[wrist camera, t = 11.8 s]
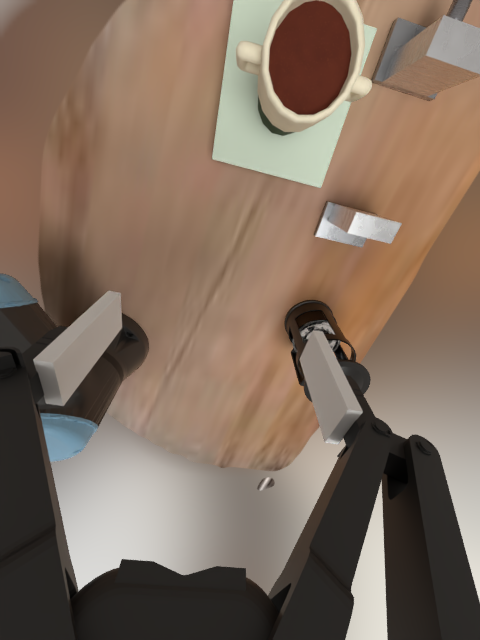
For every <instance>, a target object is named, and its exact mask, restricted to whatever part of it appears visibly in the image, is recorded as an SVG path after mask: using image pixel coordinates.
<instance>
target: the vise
mask: <svg viewBox="0 0 480 640" xmlns="http://www.w3.org/2000/svg"><path fill="white" fill-rule="evenodd" d="M471 2H472V0H453V2H452V4H451V6H450V9H449V11H448V13H447V15H446V16H445V15H443V16H442V17H440V18H439V19H438V20H436V21H435V22H434V23H432V24H431V25H430V26H428V27H427V28H426V27H423V26H420V25H417V24H415V23H412V22H409V21H406V20H404V19H401V18H397V19H396V20H395V21H394V22H393V24H392V27H391V30H390V32H389V35H388V38H387V40H386V43H385V46H384V48H383V51H382V54H381V56H380V59H379V62H378V65H377V67H376V70H375V73H374V75H373V78H372V83H375V84H379V85H382V86H385V87H388V88H391V89H394V90H397V91H400V92H403V93H406V94H409V95H412V96H415V97H418V98H421V99H425V100H428V101H430V100H433V99H435V97H436V95H437V93H438V92H441V91H443V90H446V89H448V88H451V87H453V86H456V85H459V84H461V83H464V82H466V81H469V80H471V79H474V78H477V77H479V76H480V28H477V27H475V26H472V25H469V24H467V23H464V22H462V21H463V19H464V17H465V15H466V13H467V11H468V9H469V7H470V4H471ZM401 224H402V223H399V222H396V221H393V220H390V219H387V218H384V217H381V216H378V215H377V214H373V213H369V212H366V211H362V210H358V209H354V208H350V207H346V206H342V205H339V204H335V203H331V202H327V201H326V204H325V207H324V209H323V212H322V215H321V217H320V220H319V223H318V225H317V228H316V231H315V234H314V235H315V236H317V237H321V238H325V239H329V240H333V241H337V242H342V243H346V244H350V245H354V246H358V247H363V245H364V243H365V241H366V239H367V238H370V239H374V240H378V241H382V242H386V243H390V244H391V242H392V241H393V239H394V237H395V235H396V233H397V231H398V230H399V228H400V226H401Z"/></svg>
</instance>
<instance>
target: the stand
mask: <svg viewBox="0 0 480 640" xmlns="http://www.w3.org/2000/svg"><path fill="white" fill-rule="evenodd" d="M282 2H283V0H234V1H233V8H232V16H231V23H230V30H229V38H228V45H227V52H226V60H225V67H224V74H223V82H222V89H221V96H220V104H219V111H218V118H217V126H216V133H215V140H214V148H213V155H212V159H213V160H217V161H221V162H225V163H228V164H232V165H236V166H240V167H243V168H247V169H251V170H255V171H258V172H262V173H266V174H270V175H274V176H277V177H281V178H285V179H289V180H292V181H296V182H300V183H304V184H307V185H311V186H315V187H319V188H321V186H322V183H323V180H324V178H325V175H326V172H327V169H328V166H329V163H330V161H331V158H332V155H333V152H334V149H335V146H336V144H337V141H338V138H339V135H340V132H341V129H342V127H343V124H344V121H345V118H346V115H347V112H348V110H349V107H350V104H351V102H348V101H343V102H342V104H341V105H340V106H339V107H338V108H337V109H336V110H335V111H334V112H333V113H332V114H331V115H330V116H328V117H327V118H325V119H324V120H322V121H320V122H319V123H317V124H315V125H313V126H311V127H309V128H307V129H305V130H303V131H301V132H295V133H291V134H288V135H285V136H281V135H278V134H274V133H271V132H270V131H269V129H268V128H267V127H266V126H265V125H264V124H263V123H262V120H261V117H260V114H259V111H258V92H257V89H258V75H255V74H251V73H248V72H245V71H242V70H241V69H240V68H239V67H238V66H237V61H236V47H237V45H238V43H239V42H240V41H249V42H252V43H256V44H259V45H263V42H264V39H265V36H266V33H267V30H268V27H269V24H270V21H271V18H272V16H273V15H274V13H275V12H276V10H277V9H278V7H279V6H280V5H281V3H282ZM376 30H377V28H374V27H371V26H368V25H365V24H364V35H365V49H364V54H363V60H362V65H361V71H360V74H359V75H361V73H362V70H363V67H364V64H365V61H366V58H367V56H368V53H369V50H370V47H371V44H372V41H373V39H374V36H375V33H376Z"/></svg>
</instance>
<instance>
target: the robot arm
mask: <svg viewBox="0 0 480 640" xmlns="http://www.w3.org/2000/svg"><path fill="white" fill-rule="evenodd" d="M37 302H38V301H37V299H35V298H33V297H32V296H31V295H30V294H29V293H28V292H27V290H26V289H25V288H24V287H23V286H22V285H21V284H20V283H19V282H18V281H17V280H16V279H15V278H13V277H11V276H9V275H6V274H0V640H345V638H346V634H347V630H348V626H349V623H350V619H351V615H352V610H353V605H354V597H353V595H352V593H351V586H352V582H353V578H354V575H355V571H356V568H357V564H358V560H359V557H360V553H361V549H362V546H363V543H364V539H365V536H366V532H367V529H368V525H369V522H370V518H371V514H372V511H373V508H374V504H375V500H376V497H377V493H378V490H379V486H380V483H381V479H382V498H383V524H384V550H385V551H384V552H385V579H386V606H387V632H388V640H480V602H479V599H478V595H477V591H476V588H475V584H474V580H473V577H472V573H471V569H470V565H469V562H468V558H467V555H466V551H465V547H464V543H463V540H462V536H461V532H460V528H459V525H458V521H457V517H456V514H455V511H454V506H453V503H452V499H451V495H450V492H449V488H448V484H447V480H446V477H445V473H444V469H443V466H442V462H441V458H440V455H439V453H438V451H437V449H436V448H435V447H434V445H433V444H432V443H430V442H429V441H428V440H426V439H425V438H423V437H421V436H419V435H412V436H410V437H409V439H405V438H402V437H401V436H398V435H396V434H394V433H392V431H391V429H390V428H389V426H388V425H387V424H386V423H384V422H383V421H382V420H380V419H378V418H376V417H375V416H374V414H373V412H372V410H371V408H370V406H369V405H368V403H367V401H366V399H365V398H364V395H363V393H362V392H361V390H360V388H359V386H358V384H357V383H356V382H355V380H354V379H353V378H352V377H351V376H347V375H344V373H343V371H342V369H341V367H340V365H339V363H338V361H337V359H336V357H335V355H334V353H333V351H332V349H331V347H330V345H329V343H328V341H327V339H326V337H325V335H324V333H323V332H320V331H314V330H313V331H312V333H311V335H310V338H309V340H308V342H307V344H306V346H305V348H304V350H303V353H302V355H301V357H300V359H299V360H300V363H301V366H302V369H303V373H304V376H305V379H306V383H307V386H308V389H309V392H310V396H311V399H312V402H313V405H314V409H315V412H316V415H317V418H318V422H319V425H320V428H321V431H322V435H323V438H324V441H325V443H332V444H339V443H340V442H341V440H342V439H343V438H344V440H345V443H346V446H345V447H344V448H343V449H342V451H341V452H340V453H339V455H338V457H339V458H338V460H337V462H336V464H335V466H334V468H333V470H332V472H331V474H330V477H329V479H328V480H327V483H326V485H325V487H324V489H323V491H322V493H321V495H320V497H319V499H318V501H317V503H316V505H315V507H314V509H313V511H312V513H311V515H310V517H309V519H308V521H307V523H306V525H305V527H304V529H303V531H302V533H301V535H300V537H299V539H298V542H297V543H296V545H295V547H294V549H293V551H292V553H291V556H290V558H289V560H288V562H287V564H286V566H285V568H284V570H283V571H282V573H281V575H280V577H279V578H278V579H277V581H276V582H275V584H274V586H273V588H272V589H271V591H270V593H269V595H268V596H267V594H266V593H265V592H264V591H263V590H262V589H261V588H260V587H259V586H258V585H257V584H256V583H254V582H253V581H252V580H250V579H248V578H246V569H245V568H232V567H219V566H216V567H213V568H209V569H206V570H203V571H199V572H196V573H193V574H189V575H181V574H179V573H176V572H174V571H172V570H170V569H168V568H166V567H164V566H162V565H159V564H157V563H155V562H152V561H138V560H125V559H122V561H121V564H120V567H119V568H116V569H113V570H111V571H108V572H106V573H104V574H102V575H100V576H99V577H97V578H95V579H94V580H92V581H91V582H90V583H88V584H87V585H85V586H84V587H83V588H82V589H81V590H80V591H79V592H78V587H77V583H76V578H75V574H74V570H73V566H72V563H71V559H70V555H69V550H68V545H67V540H66V535H65V531H64V526H63V521H62V516H61V511H60V507H59V502H58V497H57V492H56V488H55V483H54V478H53V473H52V468H51V464H50V461H59V460H64V459H68V458H71V457H73V456H75V455H77V454H78V453H79V452H81V451H82V450H83V449H84V448H85V446H86V445H87V443H88V441H89V440H90V438H91V437H92V435H93V434H94V433H95V432H96V430H97V428H98V426H99V424H100V422H101V421H102V419H103V417H104V415H105V413H106V411H107V409H108V407H109V406H110V404H111V402H112V400H113V398H114V396H115V394H116V392H117V391H118V389H119V387H120V385H121V383H122V381H123V380H125V379H126V378H127V377H128V376H129V375H131V374H132V373H133V372H134V371H135V370H136V369H138V368H139V367H140V366H141V365H142V363H143V362H144V360H145V358H146V356H147V353H148V349H149V344H148V340H147V337H146V335H145V333H144V331H143V330H142V329H141V327H140V326H139V325H138V324H137V323H135V322H134V321H133V320H132V319H130V318H129V317H127V316H125V315H123V314H122V312H121V293H119V292H114V291H107V292H106V293H105V294H104V295H103V296H102V297H101V298H100V299H99V300H98V301H96V302H95V303H94V304H93V305H92V306H91V307H90V308H89V309H88V310H87V311H86V312H84V313H83V314H82V315H80V316H79V317H78V318H77V319H76V320H75V321H74V322H73V323H72V324H71V325H70V326H69V327H63V326H59V327H57V326H56V325H55V324H54V323H53V322H52V320H51V319H50V318H49V317H48V315H47V314H46V313H45V312H44V311H43V309H42V308H41V307H40V306H39V304H38V303H37Z"/></svg>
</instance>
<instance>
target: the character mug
mask: <svg viewBox="0 0 480 640" xmlns="http://www.w3.org/2000/svg"><path fill="white" fill-rule="evenodd" d="M364 49H365V35H364V22H363V15H362V13H361V10H360V8H359V5H358V3H357V1H356V0H283V2H282V3H281V5H280V6H279V7H278V9H277V10H276V12H275V13H274V15H273V16H272V18H271V21H270V24H269V27H268V30H267V33H266V36H265V39H264V42H263V45H259V44H256V43H252V42H249V41H240V42H239V43H238V45H237V47H236V61H237V66H238V67H239V68H240V69H241V70H242V71H245V72H248V73H251V74H255V75H258V89H257V92H258V111H259V114H260V117H261V120H262V123H263V124H264V125H265V126H266V127H267V128H268V129H269V131H270V132H271V133H274V134H278V135H281V136H285V135H288V134H291V133H295V132H301V131H303V130H305V129H307V128H309V127H311V126H313V125H315V124H317V123H319V122H320V121H322V120H324V119H325V118H327V117H328V116H330V115H331V114H332V113H333V112H334V111H335V110H336V109H337V108H338V107H339V106H340V105H341V104H342V102H343V101H348V102H354V101H357V100H359V99H361V98H362V97H364V96H366V95H367V94H368V92H369V91H370V90H371V88H372V81H371V80H370V79H368V78H366V77H364V76H361V75H359V74H360V71H361V65H362V60H363V54H364Z"/></svg>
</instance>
